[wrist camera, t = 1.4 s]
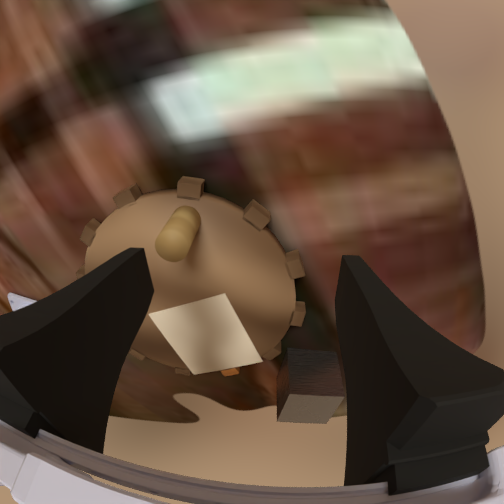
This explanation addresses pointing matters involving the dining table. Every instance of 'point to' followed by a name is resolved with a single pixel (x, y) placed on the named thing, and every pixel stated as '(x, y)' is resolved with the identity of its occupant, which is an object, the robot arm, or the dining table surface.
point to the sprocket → (203, 276)
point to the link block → (308, 386)
